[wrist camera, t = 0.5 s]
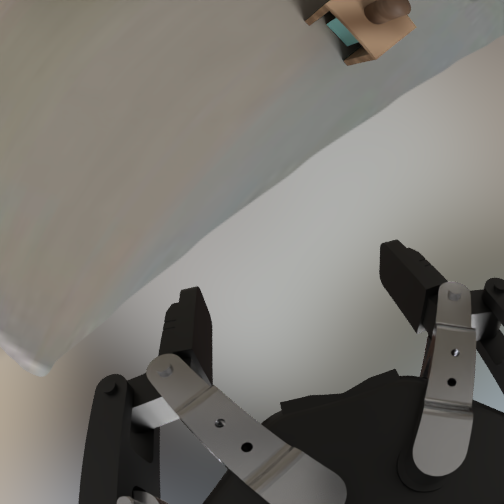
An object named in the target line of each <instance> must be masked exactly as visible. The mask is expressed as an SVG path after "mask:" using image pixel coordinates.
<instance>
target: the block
mask: <svg viewBox="0 0 504 504" xmlns="http://www.w3.org/2000/svg"><path fill="white" fill-rule="evenodd" d="M326 25H327V26H328V27H329V28H330V29H331V30H332V31H333V32H334V33H335V34H336V35H337V36H338V37H339V38H340V39H341V40H342V41H343V42H344V43H345V44H346V46H350V45H352V44H355V43H358V40H357V39H356V38H355V37H354V36H353V35H352V34H351V33H350V32H349V30H348V29H347V28H346V27H345V26H344V25H343V24H342V23H341V22H340V21H339V20H338V19H337V18H334V19H333V20H332V21H330V22H329V23H328V24H326Z"/></svg>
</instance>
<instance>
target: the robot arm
mask: <svg viewBox="0 0 504 504" xmlns="http://www.w3.org/2000/svg"><path fill="white" fill-rule="evenodd" d="M379 272H380V273H379V274H380V280H381V282H382V284H383V286H384V288H385V289H386V290H387V292H388V293H389V295H390V296H391V297H392V299H393V300H394V301H395V303H396V304H397V306H398V307H399V309H400V310H401V311H402V313H403V314H404V316H405V317H406V318H407V320H408V322H409V323H410V324H411V326H412V327H413V329H414V330H415V332H416V333H417V334H418V333H420V332H423V331H427V332H428V336H427V341H426V347H425V352H424V357H423V363H422V367H421V372H420V376H419V377H416V376H399V375H398V373H397V371H396V369H393V370H390V371H388V372H385V373H382V374H379V375H376V376H374V377H371V378H368V379H367V380H365V381H363V382H362V383H360V384H359V385H357V386H355V387H353V388H352V389H350V390H348V391H346V392H344V393H341V394H329V395H310V396H306V397H302V398H298V399H293V400H289V401H285V402H280V404H281V409H282V410H281V411H279V412H277V413H275V414H274V415H272V416H270V417H269V418H268V419H266V420H265V421H263V422H262V423H261V424H260V423H259V422H258V421H256V420H255V419H254V418H253V417H251V416H250V415H249V414H247V413H246V412H245V411H244V410H243V409H242V408H240V407H239V406H238V405H237V404H236V403H234V402H233V401H232V400H231V399H230V398H228V397H227V396H226V395H225V394H224V393H223V392H222V391H220V390H219V389H218V388H217V387H216V386H214V385H213V378H212V377H213V375H212V374H213V373H212V321H211V317H210V314H209V311H208V308H207V306H206V303H205V301H204V298H203V295H202V293H201V290H200V288H199V287H193V288H188V289H184V290H181V292H180V298H179V302H178V303H174V304H172V305H171V306H170V308H169V309H168V311H167V312H166V316H165V321H164V322H165V323H164V327H163V332H162V338H161V344H160V349H159V355H158V357H156V358H155V359H154V360H152V362H150V364H149V365H148V367H147V371H146V373H145V374H143V375H141V376H138V377H135V378H133V379H131V380H128V381H127V380H126V379H125V378H124V377H123V376H122V375H119V374H112V375H109V376H107V377H105V378H104V379H102V380H101V381H100V382H99V384H98V385H97V387H96V390H95V395H94V399H93V404H92V409H91V415H90V420H89V426H88V432H87V437H86V443H85V450H84V457H83V465H82V473H81V482H80V493H79V504H168V503H167V502H165V501H163V500H161V499H160V426H161V425H164V424H166V423H169V422H172V421H174V420H177V419H180V420H181V421H182V422H183V423H184V424H185V425H186V426H187V428H188V429H189V430H190V431H191V432H192V433H193V434H194V435H195V436H196V437H197V438H198V440H199V441H200V442H201V443H202V444H203V445H204V446H205V447H206V448H207V449H208V450H209V451H210V452H211V453H212V454H213V455H214V456H215V457H216V458H217V459H218V460H219V461H220V462H221V463H222V464H223V465H224V466H225V467H226V468H227V469H228V470H227V471H226V473H225V474H224V476H223V477H222V478H221V480H220V481H219V482H218V484H217V485H216V487H215V488H214V489H213V491H212V492H211V493H210V495H209V496H208V497H207V498H206V500H205V501H204V502H203V504H504V413H503V412H501V411H498V410H496V409H494V408H491V407H489V406H486V405H484V404H482V403H479V402H477V401H474V400H473V389H474V378H475V377H474V376H475V362H476V361H475V360H476V349H477V351H478V353H479V354H480V356H481V357H482V359H483V360H484V362H485V364H486V365H487V367H488V368H489V370H490V372H491V373H492V375H493V377H494V378H495V380H496V382H497V383H498V385H499V387H500V389H501V391H502V392H503V394H504V335H503V334H502V332H501V331H500V330H499V328H500V326H501V323H502V325H503V326H504V280H503V279H500V278H491V279H489V280H487V281H486V283H485V286H484V290H474V291H469V290H468V288H467V287H466V286H465V285H463V284H461V283H458V282H452V281H451V282H448V281H447V280H446V279H445V278H444V277H443V276H442V275H441V274H440V273H439V272H438V271H437V270H436V269H435V268H434V267H433V266H432V265H431V264H430V263H429V262H428V261H427V260H425V258H424V257H423V256H422V255H421V254H420V253H419V252H417V251H415V250H413V249H411V248H406V247H405V246H404V245H403V244H402V243H401V242H400V241H398V240H393V241H389V242H385V243H382V244H381V246H380V270H379Z"/></svg>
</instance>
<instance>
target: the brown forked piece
mask: <svg viewBox="0 0 504 504" xmlns="http://www.w3.org/2000/svg"><path fill="white" fill-rule="evenodd" d="M329 11H330V12H331V13H332V14H333V15H334V16H335V17H336V18H337V19H338V20H339V21H340V22H341V23H342V24H343V25H344V26H345V27H346V28H347V29H348V30H349V32H350V33H351V34H352V35H353V36H354V37H355V38H356V39H357V40H358V42H359V43H360V44H361V45H362V47H360V48H359V49H358V50H357V51H355V52H354V53H353V54H352V55H350V56H349V57H348V58H347V59H346V60H344V62H345V63H346V65H347V66H348V65H353V64H357V63H361V62H366V61H371V60H376V59H378V58H379V57H380V56H381V55H382V54H384V53H385V52H386V51H387V50H389V49H390V48H391V47H392V46H393V45H395V44H396V43H397V42H398V41H400V40H401V39H402V38H403V37H405V36H406V35H407V34H408V33H410V32H411V31H412V30H414V29H415V28H416V26H415V24H414V23H413V22H412V21H411V19H410V18H409V17H408V14H409V13H410V11H411V6H410V3H409V1H408V0H330V1H329V2H327V3H326V4H325V5H323V6H322V7H321V8H320V9H319V10H318V11H316V12H315V13H314V14H313V15H312V16H311V17H310V18H308V19H307V20H306V21H305V22H306V23H307V24H308V25H309V26H310V25H311V24H312V23H314V22H315V21H316V20H318V19H319V18H320V17H322V16H323V15H325V14H326V13H327V12H329Z"/></svg>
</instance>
